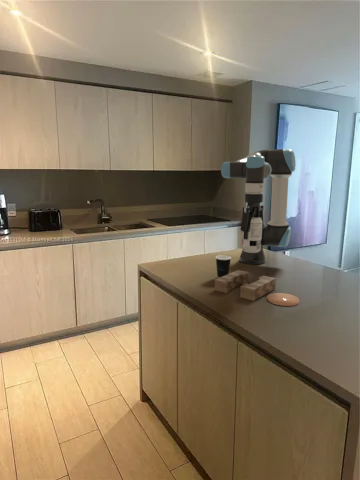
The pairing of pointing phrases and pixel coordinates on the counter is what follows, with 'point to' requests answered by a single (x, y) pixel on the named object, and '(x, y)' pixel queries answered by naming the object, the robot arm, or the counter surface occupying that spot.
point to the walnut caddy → (245, 284)
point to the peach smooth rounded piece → (283, 299)
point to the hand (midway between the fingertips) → (251, 244)
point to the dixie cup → (222, 265)
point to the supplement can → (254, 236)
